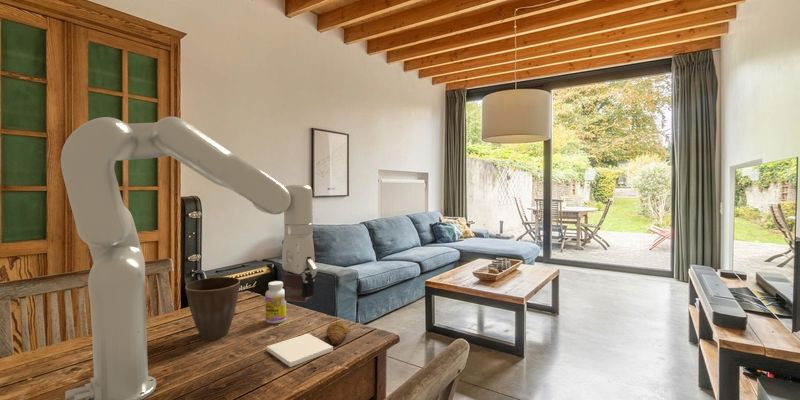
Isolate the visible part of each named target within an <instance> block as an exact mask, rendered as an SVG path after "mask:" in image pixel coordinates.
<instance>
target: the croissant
mask: <svg viewBox="0 0 800 400" xmlns="http://www.w3.org/2000/svg"><path fill="white" fill-rule="evenodd" d="M325 331H326V334H327V335H328V338H329V340H330V342H331V343H332V345H333V346H338V345H340V344H341V343H342V342H343V341H344V339H345V337H346V336H347V334H348V332H349V331H350V329H349V327H348V326H347V324H346V323H345V322H342V321H334V322H331V323H329V325H328V326H327V329H326V330H325Z"/></svg>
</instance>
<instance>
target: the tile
mask: <svg viewBox="0 0 800 400" xmlns="http://www.w3.org/2000/svg"><path fill="white" fill-rule="evenodd" d="M266 351H267V352H268V353H270V354H271V355H272V356H274V357H275V358H277V359H278V360H280V361H281V362H282V363H283V364H285V365H287V366H288V367H290V368H292V367H294V366H297V365H299V364H304V363H305V362H308V361H311V360H314V359H316V358H317V357H321V356H323V355H326V354H328V353H332V352H334V345H333V346H332V345H331V344H329V343H327V342H326V341H324V340H321V339H320V338H318V337H316V336H315V335H312V334H311V333H309V332H308V333H305V334H301V335H300V336H296V337H291V338H289V339H286V340H283V341H279V342H276V343H273V344H270V345H266Z"/></svg>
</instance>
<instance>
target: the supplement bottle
mask: <svg viewBox="0 0 800 400" xmlns="http://www.w3.org/2000/svg"><path fill="white" fill-rule="evenodd" d="M283 287H284V282H283V281H281V280H274V281H273V280H272V281H270V282H268V290H266V292H265V294H264V295H265V298H264V299H265V322H266V323H268V324H279V323H282V322H285V321H286V319H287V301H285V289H284V288H283Z"/></svg>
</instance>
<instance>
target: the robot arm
mask: <svg viewBox="0 0 800 400" xmlns="http://www.w3.org/2000/svg"><path fill="white" fill-rule="evenodd" d="M163 157H165V158H166V157H171V158H173V159H175V160H176V161H178V162H179V163H181V164H183V165H185V167H187V168H189V169H191V170H192V171H194V172H195V173H197V174H199V175H200V176H201V177H203V178H205V179H207V181H210V182H211V183H213V184H215V185H217V186H220V187H223V188H226V189H228V190H230V191H233V192H235V193H236V194H238V195H240V196H241V197H243V198H245V199H246V200H248V201H249V202H251V203H252V205H253V207H254V208H255V209H257V210H258V211H259V212H263V213H265V214H269V215H275V216H276V215H281V214H283V224H284V226H283V227H284V228H283V230H284V231H283V232H284V233H283V234H284V235H283V240H282V249H281V250H282V251H281V252H282V253H281V266H282V269H283V270H284V275H285V274H287V273H288V272H292V273H294V274H301V276H302V279H303V282H304V283H302V297H303V298H307V297H311V296H313V295H314V296H315V285H314V282H315V280H316V277H317V273H318V271H319V270H318V266H317V265H316V264H315V260H316V257H315V247H314V239H313V235H314V232H313V231H314V227H313V225H314V223H313V219H314V218H313V217H314V215H313V213H314V212H313V210H314V209H313V189H312V187H311V186H310V185H308V184H289V185H288V184H287V185H283V184H281V183H280V182H278V181H277V180H276V179H274V178H272V177H271V176H270V175H268V174H267V173H265V172H264V171H262V170H261V169H259V168H257V166H254V165H252V164H251V163H249V162H247V161H246V160H244V159H243V158H242V157H240V156H238V155H237V154H235V153H233V152H231V150H228V149H227V148H226V147H224V146H222V144H220V143H218V142H217V141H215V140H214V139H212V138H211V137H210V136H208V135H207V134H205V133H204V132H202V131H201V130H200V129H198V128H197V127H195V126H194V125H192V124H191V123H189V122H187V121H186V120H184V119H182V118H180V117H178V116H165V117H163V118H161V119H159V120H157V122H156V121H154V122H141V123H139V122H138V123H137V122H136V123H126V122H124V121H122V120H120V119H118V118H116V117H108V116H107V117H106V116H104V117H98V118H93V119H91V120H89V121H87V122H85V123H83V124H81V125H80V126H78V127H77V128H76V129H74V131H73V132H71V134H70V135H69V136H68V137H67V139H66V141H65V143H64V145H63V147H62V150H61V154H60V167H61V173H62V177H63V182H64V184H65V188H66V192H67V197H68V200H69V205H70V207H71V211H72V215H73V220H74V221H75V222H74V223H75V228H76V231H77V234H78V236H79V238H80V239H81V240H82V242H84V243H85V244H87V246H88V249H89V253H90V256H91V259H92V262H93V265H92V267H91V268H90V270H89V275H88V278H87V279H88V280H87V287H88V289H87V290H88V298H89V307H90V317H91V318H90V319H91V320H90V321H91V322H90V323H91V324H90V325H91V335H92V336H91V337H92V340H91V341H92V358H93V359H92V361H93V362H92V363H93V365H92V366H93V377H90V382H88V383H84V386H80V387H75V388H73V389H69V390H68V389H67V390H65V395H64V396H65V400H144V399H146V398H147V397H148V396H150V395H151V394H152V393H153V392H154V391H155V390H156V388H157V380H156V378H155V377H153V376H151V375H149V367H148V366H149V365H148V337H147V336H148V335H147V334H148V333H147V331H148V330H147V313H146V312H147V307H146V261H145V256H144V253H143V250H142V245H141V242H140V239H139V235H138V232H137V231H138V230H137V228H136V224H135V221H134V217H133V215H132V213H131V212H130V210H129V209H128V207H126V206H125V204H124V202H123V198H122V195H121V192H120V188H119V187H120V186H119V183H118V182H119V181H118V179H117V175H116V172H115V165H116V161H128V160H129V161H130V160H131V161H132V160H141V159H142V160H143V159H153V158H154V159H155V158H163ZM304 270H305V271H304ZM305 274H308V276H307V278H306V275H305ZM314 296H313V297H314Z"/></svg>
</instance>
